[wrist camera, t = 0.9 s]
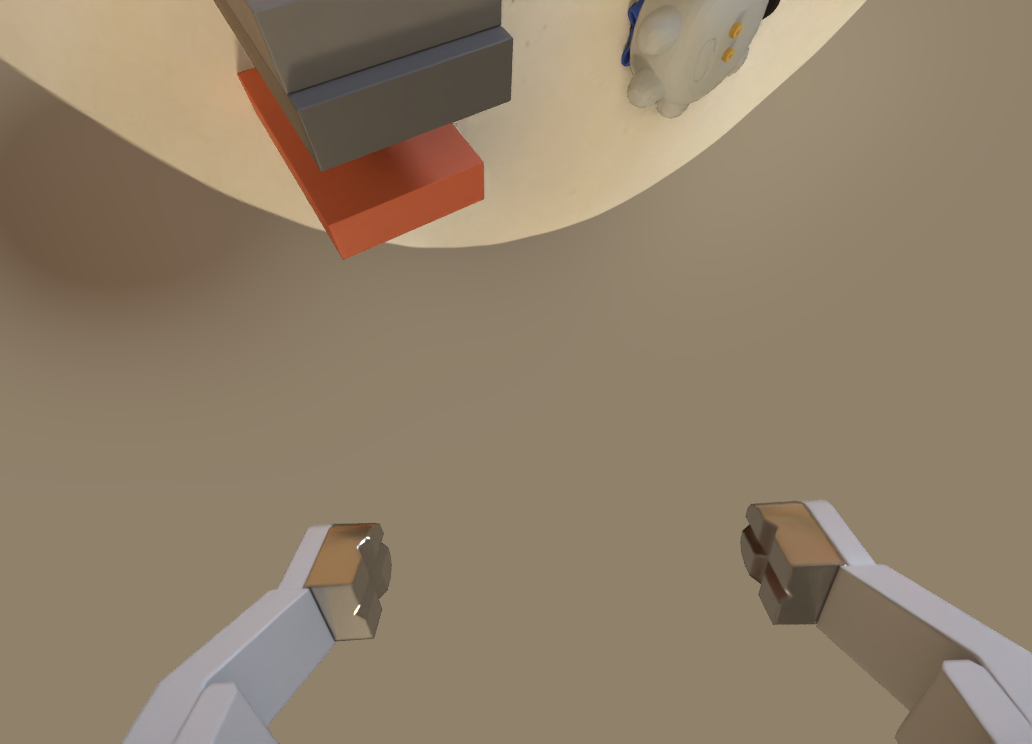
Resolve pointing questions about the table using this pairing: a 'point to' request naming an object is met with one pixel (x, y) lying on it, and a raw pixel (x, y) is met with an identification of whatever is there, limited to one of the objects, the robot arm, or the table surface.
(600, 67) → the table surface
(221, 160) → the table surface
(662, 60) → the figurine
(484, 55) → the grey books
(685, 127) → the table surface
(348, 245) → the terracotta book
